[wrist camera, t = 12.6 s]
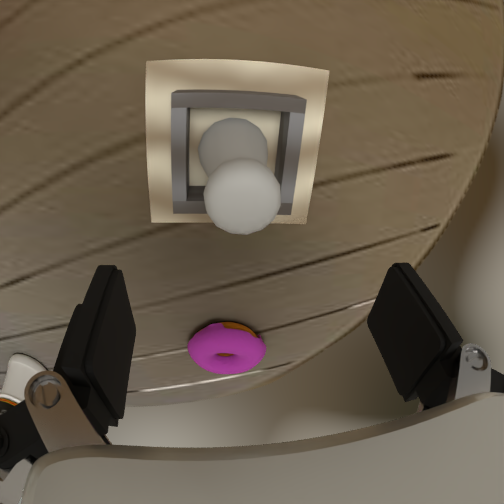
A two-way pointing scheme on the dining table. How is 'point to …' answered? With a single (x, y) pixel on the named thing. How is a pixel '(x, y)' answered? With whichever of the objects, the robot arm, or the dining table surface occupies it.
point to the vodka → (17, 380)
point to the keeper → (222, 107)
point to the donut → (226, 348)
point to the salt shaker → (238, 177)
